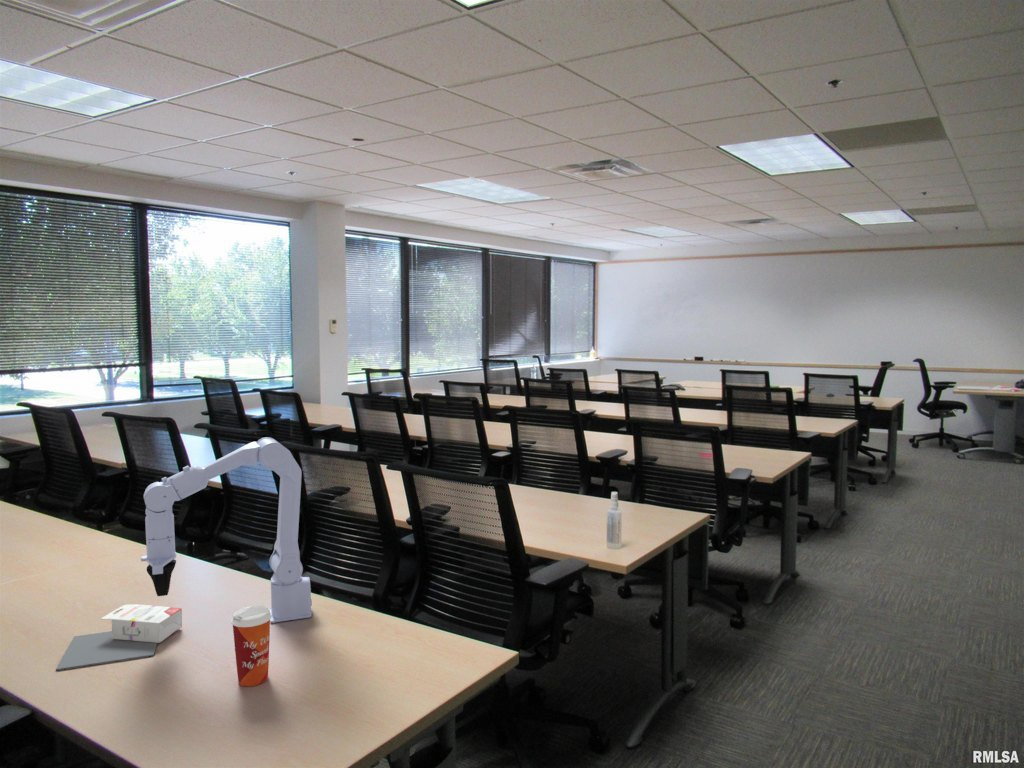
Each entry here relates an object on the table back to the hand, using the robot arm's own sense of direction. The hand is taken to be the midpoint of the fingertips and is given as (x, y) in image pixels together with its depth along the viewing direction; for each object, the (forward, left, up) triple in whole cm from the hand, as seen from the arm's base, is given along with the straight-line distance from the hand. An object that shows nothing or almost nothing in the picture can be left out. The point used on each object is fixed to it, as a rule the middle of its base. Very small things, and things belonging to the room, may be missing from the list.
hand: (162, 594), depth 154 cm
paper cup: (-19, +26, -11) cm, 34 cm away
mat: (+10, 0, -10) cm, 15 cm away
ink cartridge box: (-1, -1, -8) cm, 8 cm away
